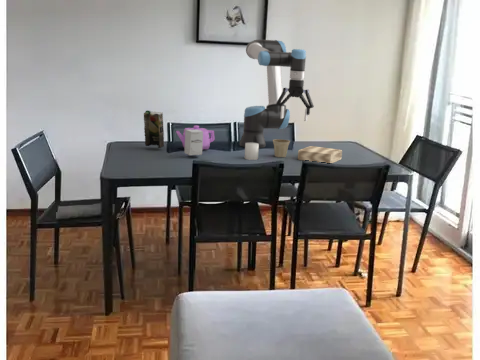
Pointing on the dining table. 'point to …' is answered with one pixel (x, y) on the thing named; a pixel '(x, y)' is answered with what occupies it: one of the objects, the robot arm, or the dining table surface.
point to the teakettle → (205, 136)
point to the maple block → (319, 154)
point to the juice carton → (154, 128)
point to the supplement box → (193, 142)
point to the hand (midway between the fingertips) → (293, 119)
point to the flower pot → (280, 147)
